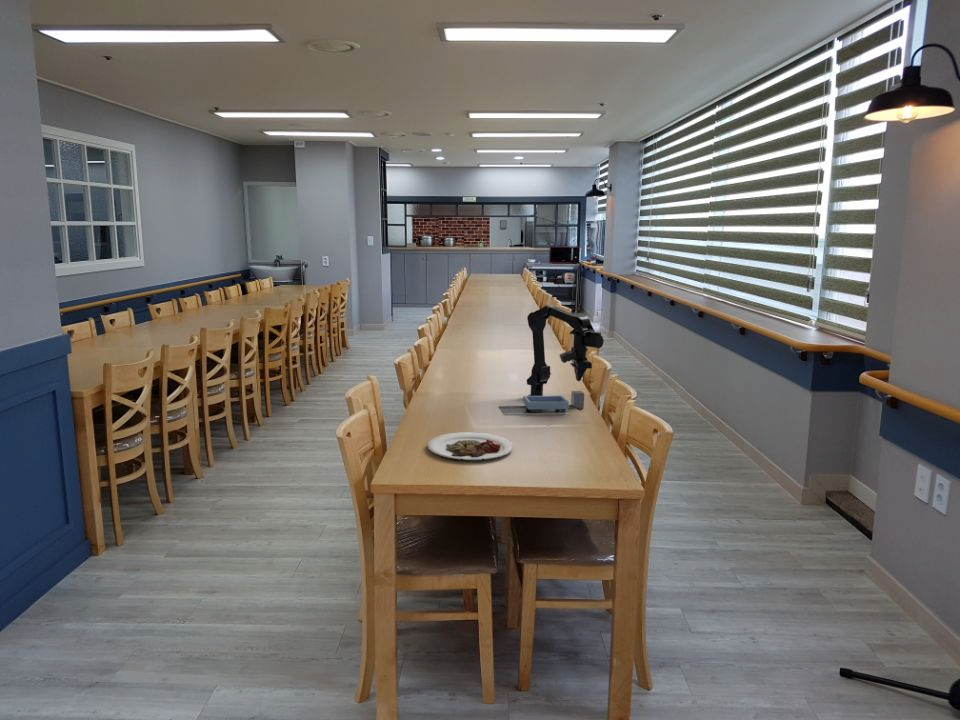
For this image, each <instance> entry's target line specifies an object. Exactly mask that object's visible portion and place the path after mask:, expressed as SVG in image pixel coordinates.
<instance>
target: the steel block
mask: <svg viewBox="0 0 960 720" xmlns="http://www.w3.org/2000/svg"><path fill="white" fill-rule="evenodd" d="M570 393H571V394H570V395H571V396H570V398H571V399H570V405H571V406H572V408H576V409H577V410H579V409H578V408H584V409H585V406H584V405H585V392H584V391H582V390H571V392H570Z"/></svg>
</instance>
